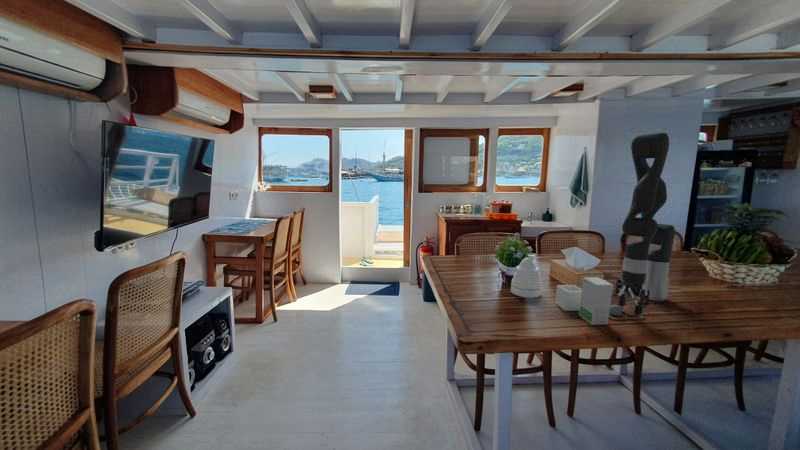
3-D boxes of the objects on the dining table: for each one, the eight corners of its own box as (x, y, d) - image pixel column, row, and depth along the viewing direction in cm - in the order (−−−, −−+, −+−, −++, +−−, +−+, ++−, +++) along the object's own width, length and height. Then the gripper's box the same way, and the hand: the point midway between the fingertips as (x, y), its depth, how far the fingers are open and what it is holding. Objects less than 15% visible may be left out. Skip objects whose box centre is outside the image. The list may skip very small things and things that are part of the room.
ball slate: (616, 313, 128) (617, 302, 128) (624, 318, 124) (625, 307, 123) (605, 313, 128) (606, 302, 127) (613, 318, 124) (614, 307, 123)
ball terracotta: (630, 312, 129) (631, 302, 128) (639, 317, 124) (640, 306, 124) (619, 313, 128) (621, 302, 128) (628, 317, 124) (629, 307, 123)
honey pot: (544, 292, 151) (547, 254, 148) (534, 300, 142) (536, 260, 139) (517, 285, 160) (520, 250, 157) (506, 292, 150) (508, 254, 148)
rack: (631, 311, 130) (631, 310, 130) (645, 319, 123) (645, 317, 123) (599, 312, 129) (600, 310, 129) (612, 319, 122) (612, 318, 122)
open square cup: (572, 303, 138) (574, 285, 137) (583, 310, 131) (585, 291, 130) (555, 303, 138) (556, 285, 137) (565, 310, 130) (566, 291, 129)
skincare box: (578, 315, 126) (581, 277, 124) (594, 315, 126) (598, 276, 124) (592, 325, 118) (596, 284, 115) (609, 325, 118) (614, 284, 116)
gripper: (659, 275, 117) (653, 318, 119) (630, 264, 131) (625, 303, 133) (639, 275, 116) (633, 318, 119) (611, 264, 130) (607, 303, 133)
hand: (629, 310), depth 126 cm, fingers open, 8 cm apart
